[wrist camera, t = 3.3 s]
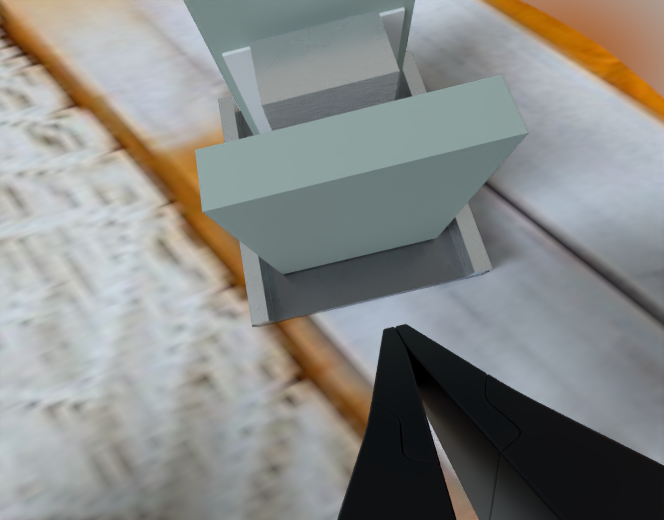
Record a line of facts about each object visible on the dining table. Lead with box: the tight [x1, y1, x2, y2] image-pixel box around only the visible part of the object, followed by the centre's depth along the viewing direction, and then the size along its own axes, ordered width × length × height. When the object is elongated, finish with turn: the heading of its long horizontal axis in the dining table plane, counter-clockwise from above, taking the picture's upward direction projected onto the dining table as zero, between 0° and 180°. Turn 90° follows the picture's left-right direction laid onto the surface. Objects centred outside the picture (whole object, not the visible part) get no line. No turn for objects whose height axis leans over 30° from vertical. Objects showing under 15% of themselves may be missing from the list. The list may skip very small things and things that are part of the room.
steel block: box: [249, 10, 400, 131], centre depth 17 cm, size 4×6×8 cm, turn 103°
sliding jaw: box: [195, 74, 529, 274], centre depth 14 cm, size 2×10×10 cm, turn 103°
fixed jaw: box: [184, 0, 415, 135], centre depth 17 cm, size 2×10×10 cm, turn 103°
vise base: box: [218, 51, 492, 327], centre depth 20 cm, size 16×15×2 cm
